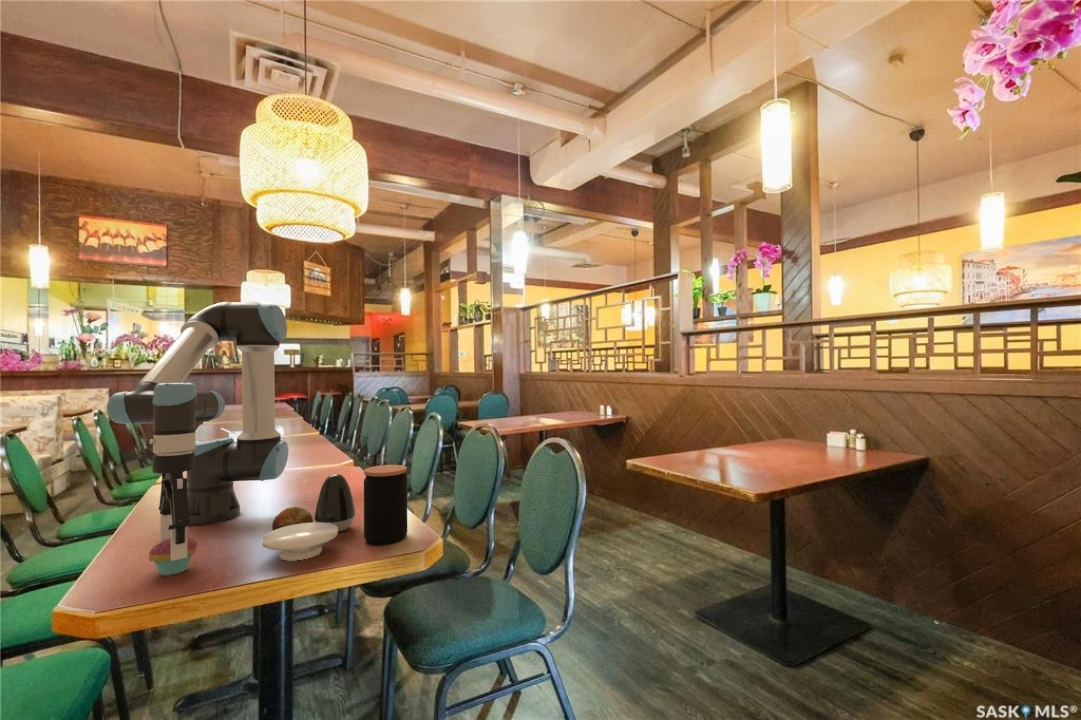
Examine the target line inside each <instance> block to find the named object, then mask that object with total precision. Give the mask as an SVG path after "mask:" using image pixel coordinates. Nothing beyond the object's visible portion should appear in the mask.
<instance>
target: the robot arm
mask: <svg viewBox="0 0 1081 720" xmlns="http://www.w3.org/2000/svg"><path fill="white" fill-rule="evenodd" d="M287 334H288V324H287V320H286V316H285V314H284V312H283V310H282V308H281V307H280V306H279V305H278V304H276V303H274V302H266V301H265V302H263V301H252V302H251V301H246V302H244V301H242V302H240V301H238V302H234V301H231V302H230V301H222V302H217V303H215V304H211V305H209V306H207V307H205V308H203V309H201V310H200V311H198V312H196V313H194V314H193V315H192V316H190V317H189V318H188V320H186V321H185V322H184V323H183V325H182V326H181V328H180V335H179V336H178V337H177V338H176V339H175V341H174V342H172V344H171V345H170V346H169V347H168V349H167V350H166V351H165V352H164V353H163V354H162V356H160V357H159V359H158V360H157V361H156V362H155V363H154V365H153V366H152V367H151V368H150V369H149V370H148V372H147V373H146V374H145V375H144V376H143V377H142V379H141V380H140V381H139V382H138V383H137V384H136V385H135V387H134V388H133V389H132V390H131V391H127V390H124V391H121V392H120V391H119V392H116V393H113V394H112V395H111V396H110V397H109V399H108V401H107V405H106V412H107V415H108V417H109V419H110V420H111V421H112V422H113V423H116V424H127V425H138V424H139V425H141V424H153V425H152V428H153V431H152V437H153V438H152V439H149V445H150V444H151V445H152V452H153V454H155V455H153V457H152V463H151V464H152V465H151V466H152V470H151V471H152V473H154V474H157V475H158V474H159V475H161V482H160V483H161V484H160V486H161V487H160V496H159V498H160V499H159V505H158V510H159V514H160V519H159V520H160V521H159V522H160V526H159V527H160V528H159V529H160V530H159V534H160V535H159V543H160V542H161V541H164V540H165V539H168V538H170V539H171V561H174V560H178V559H183V558H187V538H188V531H189V530H188V527H189V526H191V525H193V526H194V525H195V526H196V525H205V524H206V525H207V524H212V523H217V522H223V521H226V520H230V519H232V518H235V517H238V516H239V515H240V514H241V505H240V502H239V500H238V498H237V495H236V493H235V489H234V482H247V481H248V482H249V481H260V482H263V481H269V480H276V479H278V478H279V477H280V476H281V475H282V474H283V473H284V470H285V468H286V466H287V462H288V458H289V445H288V442H287V441H286V440H282V434H281V433H280V432H279V431H278V430H277V429H276V405H275V404H276V399H275V398H276V397H275V396H276V394H275V393H276V392H275V391H276V390H275V389H276V388H275V386H276V385H275V383H276V381H275V352H276V350H278V349H279V348H280V347H281V346H280V342H282V341H284V340H286V338H287ZM227 341H231V342H232V341H233V342H234V341H235V347H236V348H237V349H238V350H239V351H240V352H241V382H242V383H241V386H242V387H241V389H242V392H241V393H242V394H241V397H242V404H241V405H242V432H241V433H240V434H239V435H238V436H236V442H235V439H234V437H223V438H217V439H209V440H205V441H204V440H203V441H200V442H196V440H197V438H196V437H197V436H196V435H197V432H196V423H202V422H206V423H207V422H210V421H213V420H215V419H218V418H219V417H220V416H221V415H222V414H223V413H224V411H225V408H226V403H225V399H224V397H223V395H222V394H220V393H219V392H217V391H214V390H209V389H202V390H197V389H196V385H195V384H194V383H193V382H185V380H186V379H187V378H188V377H189V375H190V374H191V372H192V371H193V370H194V368H195V367H196V365H197V364H198V363H199V361H201V359H202V358H203V357H204V356H205V354H206V353H207V352H208V350H210V349H213V348H215V347H216V346H217V345H218V344H219V343H221V342H227ZM184 472H186V477H184V474H183V473H184ZM180 520H181V521H180Z"/></svg>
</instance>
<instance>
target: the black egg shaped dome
mask: <svg viewBox="0 0 1081 720" xmlns="http://www.w3.org/2000/svg"><path fill="white" fill-rule="evenodd" d="M317 497H318V498H317V501H316V505H315V512H314V520H315V522H323V523H331V524H334V525H336V526H337V527H338V533H341V532H343V530H344V531H345V530H347V529H348V528H349V527H350V526H351V525H352V524H353V521H354V519H355V516H356V507H355V505H356V504H355V501H354V500H355V499H354V497H353V493H352V490H351V487H350V485H349V482H348V481H347V479H346V478H345V477H344V475H342V474H340V473H339V474H338V473H333V474H330V475H329V476H328V477H327V478H325V480H324V482H323V483H322V485H321V488H320V490H319V493H318V496H317ZM340 531H341V532H340Z"/></svg>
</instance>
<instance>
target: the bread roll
mask: <svg viewBox="0 0 1081 720" xmlns="http://www.w3.org/2000/svg"><path fill="white" fill-rule="evenodd" d="M313 521H314V518H313V516H312V514H311V512H310V511H309V510H308V509H306V508H303V507H300V506H292V507H286V508H285V509H283V510H281V511H280V513H278V515H276V516H275V517H274V519H273V521H272V525H271V526H272V528H271V531H273V530H276V529H279V528H282V527H286V526H290V525H295V524H302V523H313Z"/></svg>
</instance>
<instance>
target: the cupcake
mask: <svg viewBox="0 0 1081 720" xmlns="http://www.w3.org/2000/svg"><path fill="white" fill-rule="evenodd" d="M180 521H181V520H180ZM197 545H198V541H197V542H196V541H195V539H193V538H191V537H187V558H183V559H178V560H174V561H171V539H170V538H168V539H165V540H164V541H161V542H160V541H159V543H157V544H156V545H154V546H153V547H152V548H151V550H149V554H148V560H149V562H153V563H154V564H155V565H156V568H157V570H158V573H159V575H160V576H173V575H172V574H174V575H176V574H177V573H178V574H181V573H182V572H183V573H184V572H185V571H187V569H188V567H189V563H190V560H191V559H192V555H194V554H196V552H197V550H198V549H197V548H198V546H197ZM184 570H185V571H184ZM180 572H181V573H180Z"/></svg>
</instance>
